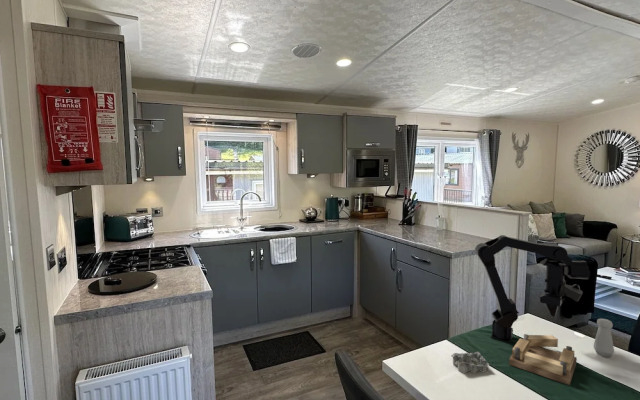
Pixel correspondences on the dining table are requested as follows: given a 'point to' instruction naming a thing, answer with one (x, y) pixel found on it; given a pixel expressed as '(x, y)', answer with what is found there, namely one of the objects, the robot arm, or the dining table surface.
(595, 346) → the salt shaker
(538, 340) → the hinged leg
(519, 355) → the wooden slat frame
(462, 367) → the grey jagged rock
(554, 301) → the robot arm
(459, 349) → the dining table surface
